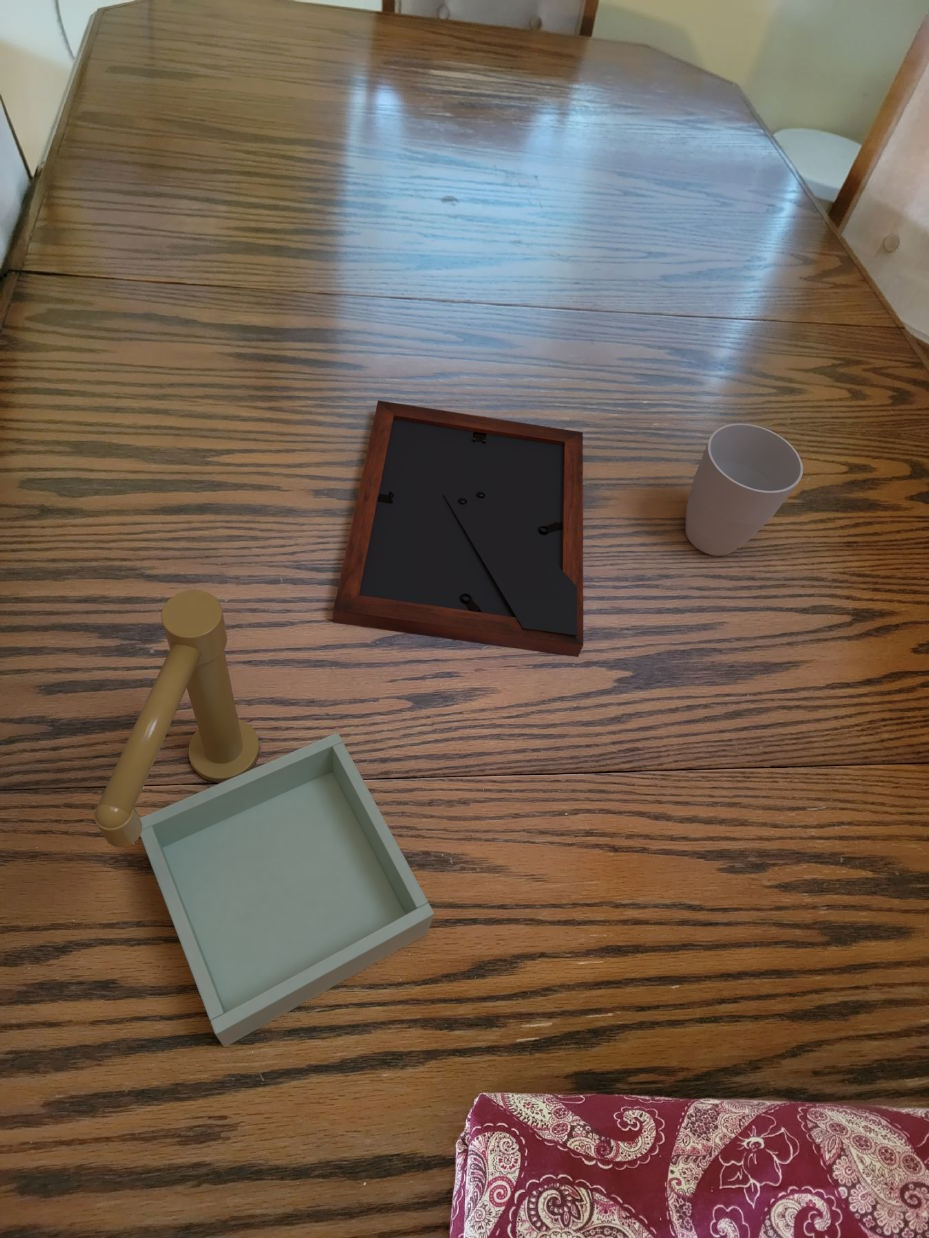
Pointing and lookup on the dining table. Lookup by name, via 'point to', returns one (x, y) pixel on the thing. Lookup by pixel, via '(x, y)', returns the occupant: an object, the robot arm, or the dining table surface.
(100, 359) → the dining table surface
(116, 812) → the spout
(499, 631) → the picture frame
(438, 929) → the dining table surface
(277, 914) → the sink
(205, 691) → the faucet base
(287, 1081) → the dining table surface
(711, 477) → the cup
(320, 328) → the dining table surface
